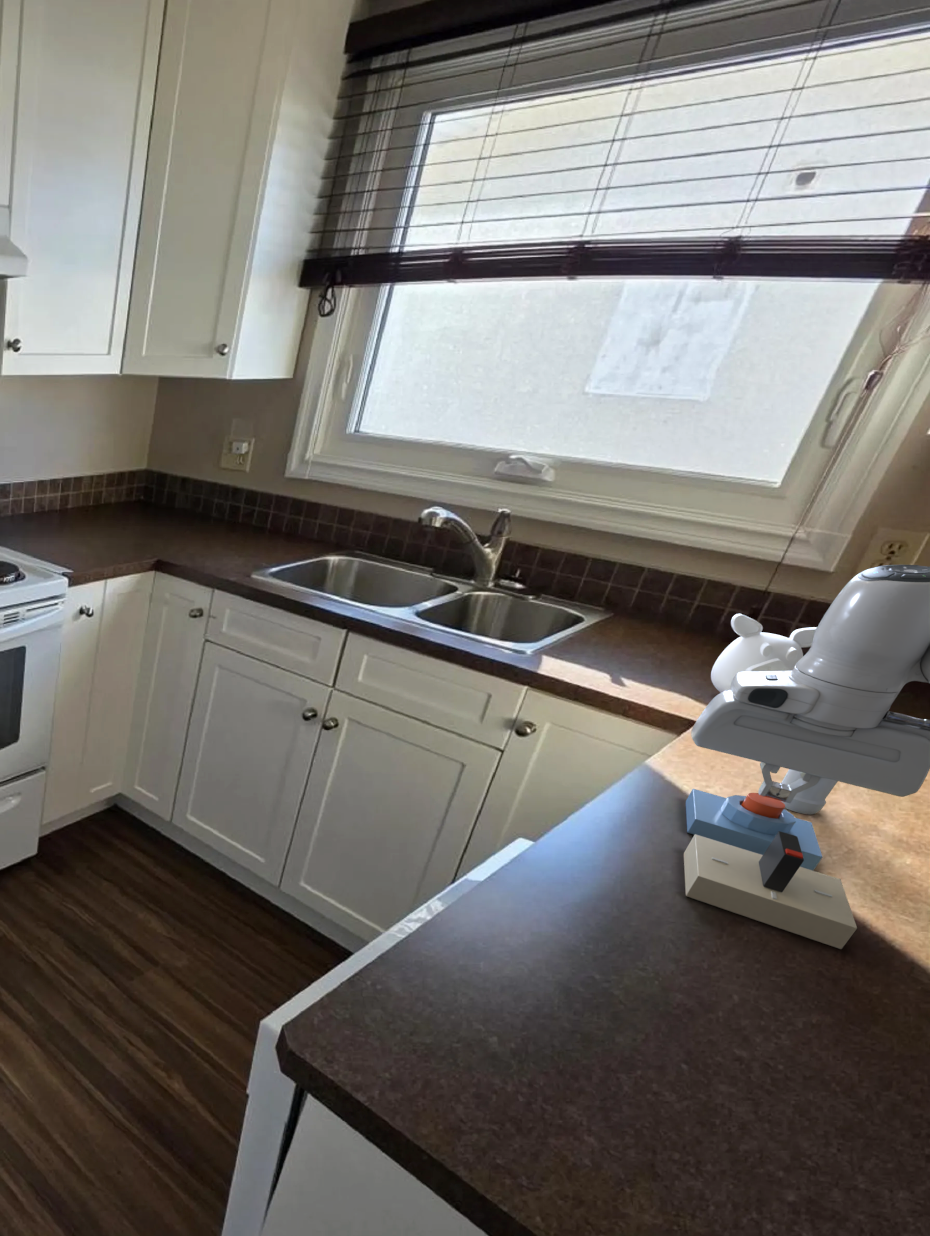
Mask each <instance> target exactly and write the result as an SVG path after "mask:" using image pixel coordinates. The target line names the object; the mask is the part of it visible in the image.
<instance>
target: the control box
mask: <svg viewBox="0 0 930 1236" xmlns="http://www.w3.org/2000/svg"><path fill="white" fill-rule="evenodd" d="M762 856H763V855H761V854H758V853H754V852H751V851H748V850H745V849H741V848H738V847H735V846H732V845H728V844H725V843H722V842H719V841H716V840H712V839H709V838H706V837H703V836H699V835H696V834H695V835H694V834H693V837H692V838H691V840H690V842H689V844H688V845H687V847H686V849H685V850H684V852H683V863H684V864H683V868H684V888H685V897H688V898H690V899H693V900H696V901H698V902H701V903H705V904H707V905H710V906H713V907H716V908H720V909H722V910H725V911H729V912H731V913H734V914H736V915H740V916H743V917H746V918H748V919H752V920H754V921H758V922H761V923H763V924H766V925H769V926H772V927H775V928H778V929H781V930H784V931H786V932H790V933H792V934H795V935H798V936H801V937H804V938H807V939H809V940H812V941H815V942H818V943H822V944H825V945H828V946H831V947H833V948H835V949H839V950H842V949H843V948H844V947H845V945H846V944H847V943H848V941H849V940H850V939H851V937H852V936H853V935H854V933H855V932H856V931H857V929H858V927H857V923H856V921H855V917H854V914H853V912H852V909H851V905H850V903H849V900H848V897H847V893H846V891H845V889H844V885H843V882H842V879H841V878H838V877H836V876H832V875H829V874H825V873H822V872H819V871H816V870H809V869H806V868H803V867H799V869H798V870H797V872H796V873H795V874H794V876H793V877H792V879H791V880H790V882H789V883H788V885H787V886H786V888H785V889H784V891H783V892H779V891H776V890H773V889H770V888H767V887H764V886H763V882H762V877H761V872H760V867H759V861H760V859H761V857H762Z"/></svg>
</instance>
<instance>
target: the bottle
mask: <svg viewBox="0 0 930 1236" xmlns="http://www.w3.org/2000/svg"><path fill="white" fill-rule="evenodd" d="M890 709H891V707H890V708H889V709H888V711H890ZM787 770H788V771H787V772H786V774H785V775H784V777H783V779H782V780H781V782H780V783H782V784H786V785H789V784H791V783H793V782H795V781H797V780H799V779H801V775H800V772H799V771H795V770H791V769H787ZM838 782H839V781H835V780H831V779H827V778H823V777H821V779H820V780H819V782H818V783H817V785H815V786H812V787H810V788H808V789H806V790H804V791H801V792H799V793H798V792H797V794H796V795H795V797H794V799H793V800H792V802H791V803H787V802H783V801H781V802H783V803H784V804H785V808H784V809H785V810H788V811H791V812H795V813H799V814H804V815H816V814H817V813H818V812H820V811H821V810H822V809H823V808H824V807H825V805H826V803H827V801H826V799H827V797H828V796H829V794H830V793H831V792H832V790H833V789H834V788H835V786H836V785H837V783H838Z"/></svg>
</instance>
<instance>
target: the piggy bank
mask: <svg viewBox="0 0 930 1236" xmlns="http://www.w3.org/2000/svg"><path fill="white" fill-rule="evenodd" d="M730 626H731V629H732V630H733V632H734V633H736V634H737V635H738V636H739V637H737V638H736V639H734V640H733V641H732V642H730V644H728V645H727V646H726V647H725V648H724V650H723V651H722V652H721V653H720V654H719V656H718V657H717V659H716V660H715V662H714V664H713V665H712V668H711V672H710V680H711V683H712V685H713V686H714V688H715V689H716V690H717V691H718V692H719V693H721V692H723V691H726V690H731V682H732V679H733V677H734V676H735V674H737V673H738V672H744V671H790V670H793V669H794V667H795V665H796V664H797V662H798V661H799V660H800V659H801V658H802V657H803V656H804V652H803V649H802V648H811V646H812V643H813V637H814V632H815V630H816V628H817V627H818V626H816V627H815V626H813V627H802V628H798V629H795V630H793V631H792V632H791V633H790V635H789V637H787V636H783V635H780V634H776V633H770V632H764V631H763V629H764V627H763V625H762V623H761V622H759V621H757V620H756V619H754V618H751V617H749V616H747V615H745V614H742V613H736V614H734V615H733V616H732V617H731V620H730ZM762 631H763V632H762Z"/></svg>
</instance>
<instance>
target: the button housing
mask: <svg viewBox="0 0 930 1236" xmlns="http://www.w3.org/2000/svg"><path fill="white" fill-rule="evenodd" d="M746 796H747V795H739V794H735V795H730V796H727V797H724V796H720V795H717V794H714V793H710V792H706V791H703V790H700V789H696V788H692V789H691V792H690V793H689V795H688V797H687V798H686V800H685V815H686V832H687V834H690V835H693V836H694V835H695V834H696V835H699V836H703V837H706V838H709V839H712V840H716V841H719V842H722V843H725V844H728V845H732V846H735V847H738V848H741V849H745V850H748V851H751V852H754V853H758V854H761V855H763V854H764V853H765V851H766V850H767V848H768V847H769V845H770V844H771V842H772V841H773V839H774V837H775V836H776V834H777V833H778V831H780V832H784V833H787V834H791V835H794V836H797V837H798V841H799V844H800V848H801V851H802V855H803V858H804V861H803V863H802V864H801V866H800V867H803V868H806V869H809V870H813V871H815V869H816V868H817V866H818V865H819V863H820V862H821V860H822V859H823V854H822V851H821V847H820V845H819V841H818V838H817V835H816V832H815V828H814V826H813V822H811V821H809V820H805V819H802V818H798V817H795V815H794V814H792V813H791V812H790V811H789V810H787V809H786V808H784V810H783V811H782V813H781V814H780V816H779V817H778V818H777V819H776V818H768V817H765V816H761V815H758V814H755V813H753V812H751V811H748V810H746V809H745V808H744V807H742V806H741V805H742V803H743V801H744V800H745V798H746Z"/></svg>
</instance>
